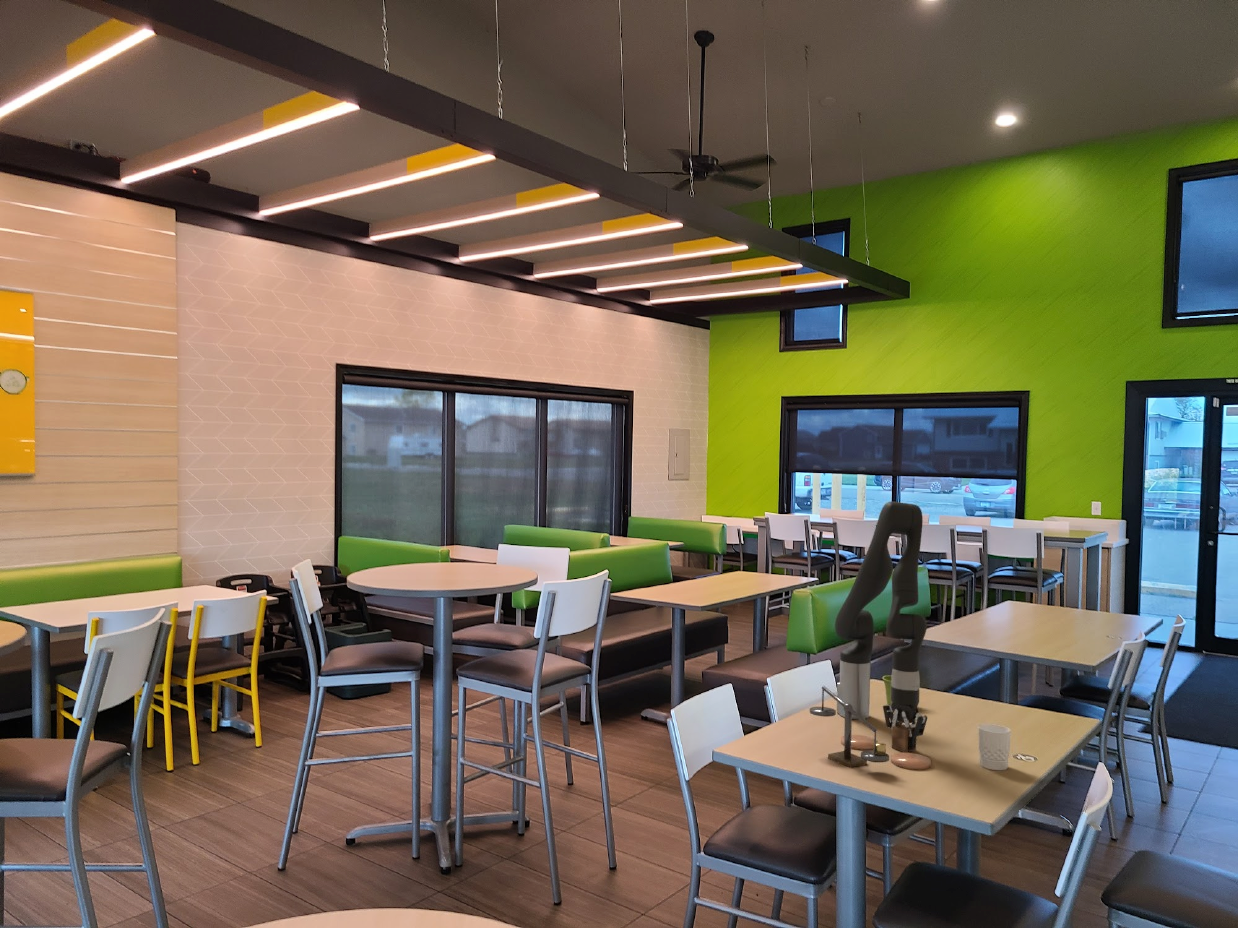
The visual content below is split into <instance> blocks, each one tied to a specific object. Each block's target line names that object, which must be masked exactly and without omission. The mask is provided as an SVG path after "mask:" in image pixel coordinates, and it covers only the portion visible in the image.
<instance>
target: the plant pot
mask: <svg viewBox="0 0 1238 928" xmlns="http://www.w3.org/2000/svg"><path fill="white" fill-rule="evenodd" d="M891 675H892V674H891ZM891 675H883V676H882V677H881V678H882V680H883V683H884V689H885V695H886V696H885V698H886V703H887V704H886V705H891V704H892V701H891Z"/></svg>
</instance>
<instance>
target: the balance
mask: <svg viewBox="0 0 1238 928" xmlns="http://www.w3.org/2000/svg"><path fill="white" fill-rule="evenodd" d="M824 692H825V693H826V694H827V695H829V696H830V697H831V698H833V699H834V700H835V701H836V703H837V702H838V703H840V704H841V705H842V706H843V707H844V711H845V717H844V733H843V734H844V735H843V736H844V745H843V750H841V751H837V752H832V753H827V756H828V758H827V759H828V760H831V761H833V762H835V763H838V762H839V764H840V765H843V766H846V767H847V768H850V767H851V768H854V767H860V766H864V765H863V764H865V765H867V764H868V762H871V763H886V762H887V763H888V762H890V755H889V754H888V753H887V744H886V743H883V742H878V743H876V740H877V731H878V729H877V728H876V727H874V726H873V725H872V724H871V723H870V721H868V720H866V719H864V718H863V717H861V716H860V715H859V714H858V713H856V712H855V711H854V710H853V706H852V705H851V704H846V703H844V702H843V701H842V700H841V699H839V698H838V697H837V694H835V693H833V692H832V691H831V690H829V688H827V687H826V686H825V685H823V686H822V687H821V706H813V707H810V708H809V713H810V714H811V715H813V716H818V717H826V718H827V717H834V716H835V715H837V709H834V708H831V707H828V706H824V702H825V701H824V700H825V699H824V698H825V693H824ZM852 714H853V715H854V716H855V717H857V718H858V719H857V720H859V721H860V722H861V723H862V724H864V726H866V727H867V728H868V729H870V730H871V731H872V732H874V737H873V738H874V749H872V750H862V751H861V753H860V756H859V755H857V754H854V753H852V748H851V735H852V727H853V726H852V725H853V724H852V723H853V722H852V720H853V719H852Z"/></svg>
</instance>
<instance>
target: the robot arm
mask: <svg viewBox="0 0 1238 928" xmlns="http://www.w3.org/2000/svg"><path fill="white" fill-rule="evenodd" d="M922 531H923V512H922V509H921V508H920V506H919V505H917V504H913V503H906V502H901V501H900V502H898V501H887V502H886V503H884V505H883V506H882V508H881V510H880V513H879V515H878V518H877V522H876V524H875V528H874V532H873V535H872V538H871V540H870V544H869V546H868V549H867V551H866V553H865V556H864V557H863V560H862V561H861V562H862V563H861V565H860V567H859V569H858V571H857V574H856V577H855V579H854V582H853V584H852V586H851V589H850V590H849V593H848V595H847V597H846V598H845V600H844V602H843V604H842V606H841V608H840V609H839V611H838V612H837V615H836V618H835V621H834V622H835V623H834V630H835V633H836V636H837V637H838V638H840V639H842V640H848V641H853V642H852V643H851V645H849V646H848V647H846V648H844V649H842V650H841V651H840V654H839V657H840V658H839V682H837V685H836V687H837V689H836V696H837V697H838V698H839V699H841V700H842V701H843V702H844V703H846V704H851V705H852V706H853V710H854V711H855V712H856V713H858V714H859V715H860V716H861V717H863V718H864V719H865V720H866V719H869V718H870V702H871V701H870V699H871V698H870V697H871V696H870V695H871V658H872V654H873V649H874V648H873V646H874V635H875V634H874V633H875V624H874V618H873V615H872V614H871V612H869V611H868V610H867V609H864V608H866V606H867V605H869V604H870V603H871V602H872V601H875V599H876V598H877V597H878V596H880V595H881V594H882V593H883V592H884V591H885V589H886V588H887V586H888V583H889V582H890V579H891V596H892V597H891V599H892V600H891V604H890V605H891V607H890V611H889V614H888V618H887V621H886V627H885V628H886V632H887V634H888V636H889V637H890V638H891V639H893V640H894V639H896V640H911V641H910V643H909V644H907V645H904V646H898V647H895V648H893V650H892V666H891V667H892V670H891V671H892V672H891V701H892V704H891V705H888V704H886V705H883V706H882V709H883V710H882V711H883V715H884V718H885V719H884V720H885V724H886V725H885V726H886V727H887V728H889V729H891V731H892V726H897V725H902V724H904V725H905V727H906V728H907V730H908V735H909V737H908V750H914V749H915V748H916V749H917V737H919V736H923V735H924V731H925V728H926V725H927V720H928V716H927V715H923V714H921V713H919V712H920V711H919V707H918V706H919V703H920V686H921V685H920V684H921V682H920V679H921V678H920V653H921V648H922V645H923V642H924V639H925V636H926V632H927V626H928V625H927V621H926V619H925V617H924V616H923V615H921V614H917V613H901V610H903V609H904V608H908V607H914V606H916V605H918V603H919V578H918V575H919V574H918V573H919V572H918V569H919V559H920V553H921V552H920V551H921V542H922V536H923V534H922V533H923V532H922ZM893 534H894V535H895V534H896V535H901V536H902V535H904V536H906V545H905V549H904V551H903V553H902V555H901V557H900V559H899V560H898V562H897V564H896V565H895V567H894V566H893V561H892V558H891V557H892V556H891V554H890V551H889V548H888V543H889V540H890V537H891V535H893ZM836 714H839V716H841V717H843V718H845V711H844V707H843V706H842V705H841V704H840V703H838V702H837V701H836ZM853 719H854V720H859V719H858V718H857V717H855V716H854V715H853V714H852V720H853ZM912 729H913V732H912ZM914 751H915V750H914Z"/></svg>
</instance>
